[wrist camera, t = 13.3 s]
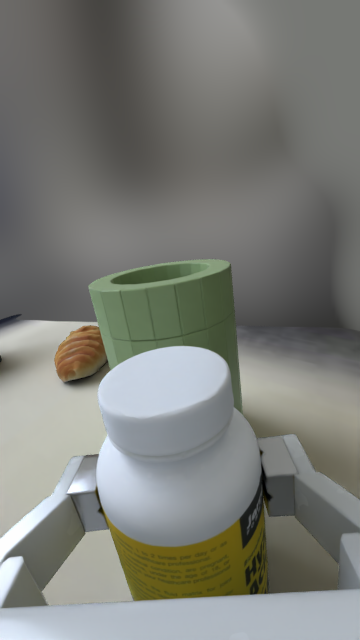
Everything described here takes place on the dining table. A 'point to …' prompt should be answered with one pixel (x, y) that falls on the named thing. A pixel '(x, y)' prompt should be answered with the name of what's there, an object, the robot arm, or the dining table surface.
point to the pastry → (80, 354)
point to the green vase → (169, 312)
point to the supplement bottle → (181, 478)
